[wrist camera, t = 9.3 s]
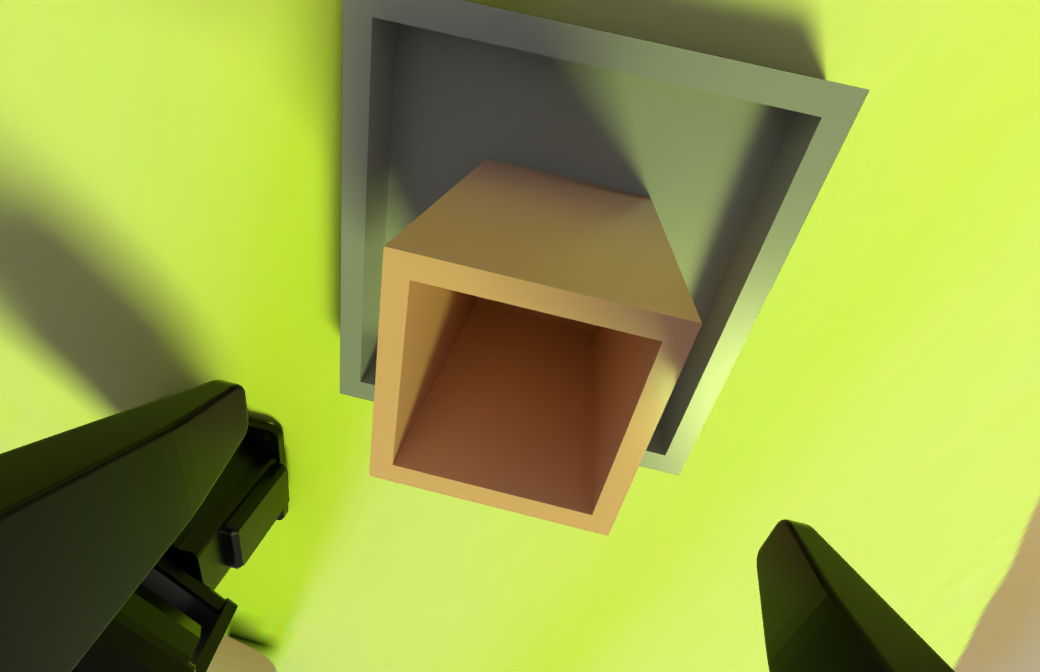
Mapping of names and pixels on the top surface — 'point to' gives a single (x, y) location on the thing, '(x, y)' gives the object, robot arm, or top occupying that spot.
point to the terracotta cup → (528, 345)
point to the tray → (582, 159)
